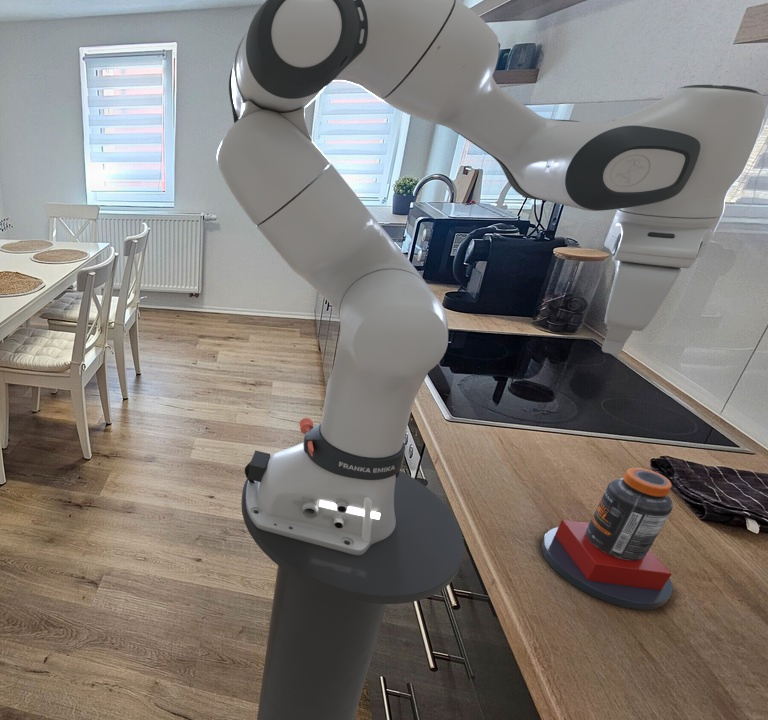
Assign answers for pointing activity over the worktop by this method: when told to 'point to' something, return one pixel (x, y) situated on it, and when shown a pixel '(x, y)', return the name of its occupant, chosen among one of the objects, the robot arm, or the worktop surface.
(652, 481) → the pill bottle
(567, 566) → the plate
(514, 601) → the worktop surface
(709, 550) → the worktop surface
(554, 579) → the worktop surface
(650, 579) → the red block
